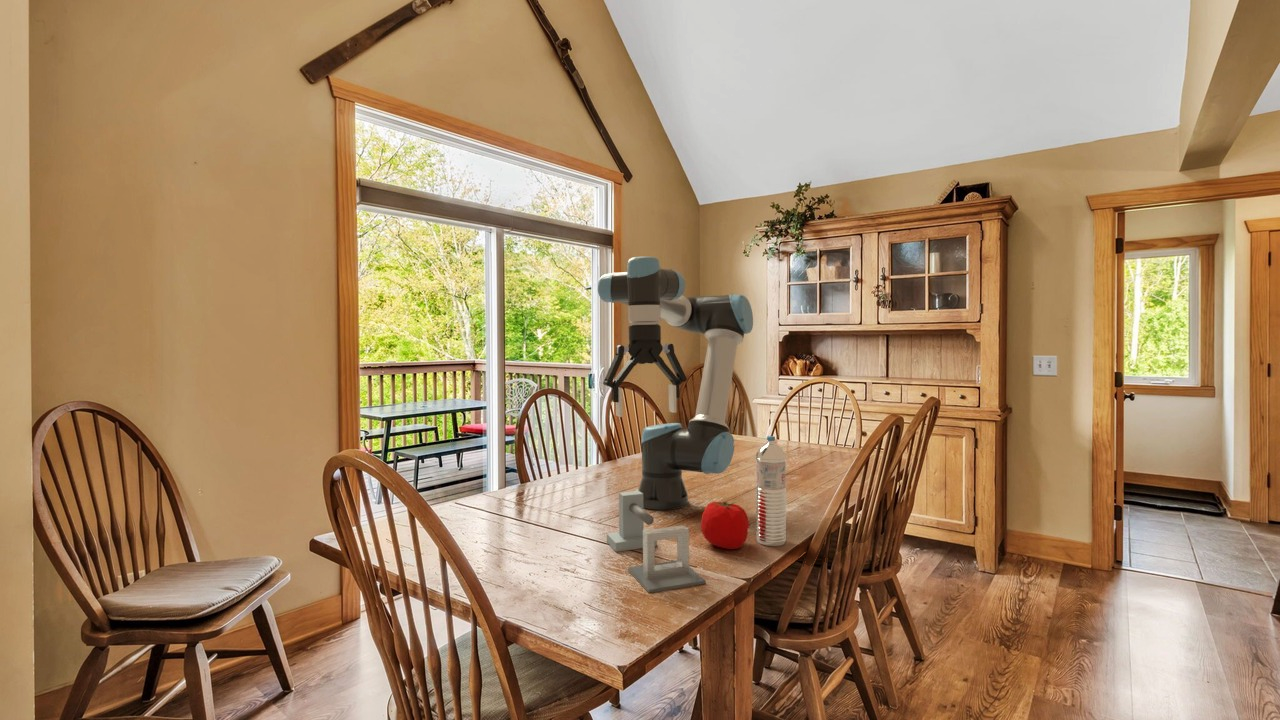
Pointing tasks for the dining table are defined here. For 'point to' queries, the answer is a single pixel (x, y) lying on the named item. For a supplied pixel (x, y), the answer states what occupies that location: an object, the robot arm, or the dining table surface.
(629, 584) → the dining table surface
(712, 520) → the tomato
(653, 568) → the square ring
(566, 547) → the dining table surface
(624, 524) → the stand
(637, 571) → the coaster
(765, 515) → the water bottle
